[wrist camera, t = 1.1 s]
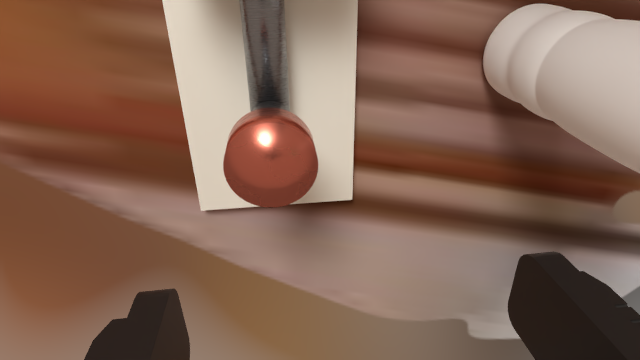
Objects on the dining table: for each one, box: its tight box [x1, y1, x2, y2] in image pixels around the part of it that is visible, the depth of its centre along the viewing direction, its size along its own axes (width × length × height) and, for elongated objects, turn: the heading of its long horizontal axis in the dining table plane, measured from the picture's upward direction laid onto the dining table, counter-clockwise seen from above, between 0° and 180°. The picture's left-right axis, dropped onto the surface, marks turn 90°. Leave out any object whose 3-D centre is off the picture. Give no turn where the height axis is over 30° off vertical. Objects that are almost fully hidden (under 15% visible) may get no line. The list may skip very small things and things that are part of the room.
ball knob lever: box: [223, 0, 318, 207], centre depth 22 cm, size 20×5×10 cm, turn 1°
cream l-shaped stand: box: [162, 0, 358, 211], centre depth 26 cm, size 26×13×9 cm, turn 1°
